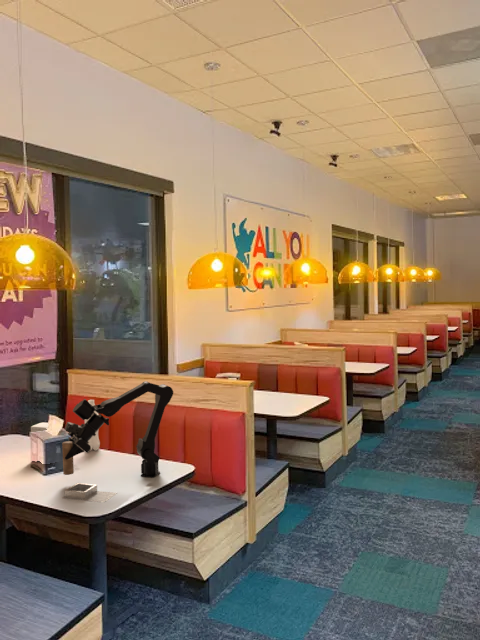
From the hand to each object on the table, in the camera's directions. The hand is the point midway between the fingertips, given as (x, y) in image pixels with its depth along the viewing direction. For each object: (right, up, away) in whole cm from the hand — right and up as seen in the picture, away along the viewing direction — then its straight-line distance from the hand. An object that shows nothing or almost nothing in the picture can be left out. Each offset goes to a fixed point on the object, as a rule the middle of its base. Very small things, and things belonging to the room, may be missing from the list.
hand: (64, 457), depth 226 cm
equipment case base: (+13, -13, -12) cm, 22 cm away
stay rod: (+1, -7, +1) cm, 7 cm away
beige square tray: (+10, -12, -10) cm, 18 cm away
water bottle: (-3, -10, +56) cm, 57 cm away
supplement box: (-21, -11, +40) cm, 47 cm away
